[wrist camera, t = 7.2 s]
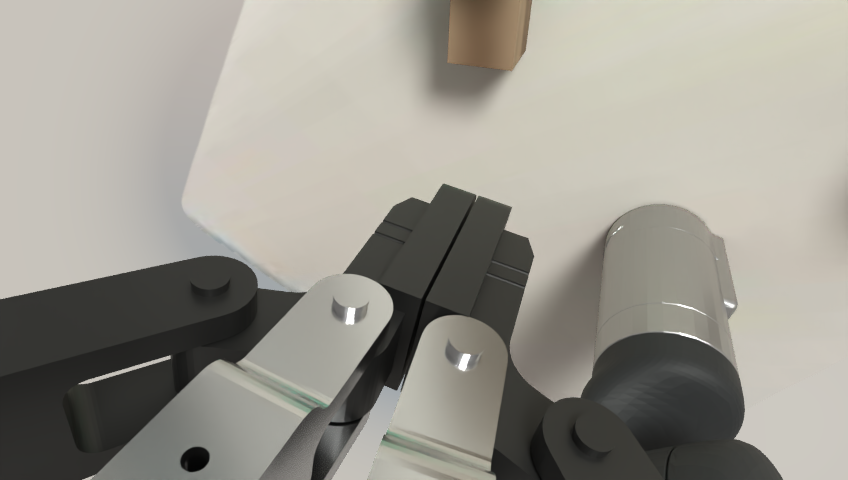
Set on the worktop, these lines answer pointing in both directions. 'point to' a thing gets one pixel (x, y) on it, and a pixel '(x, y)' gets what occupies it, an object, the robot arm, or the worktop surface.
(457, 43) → the walnut block
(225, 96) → the worktop surface
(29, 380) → the robot arm
